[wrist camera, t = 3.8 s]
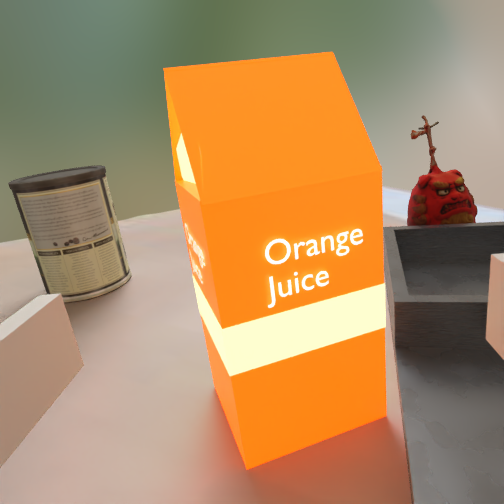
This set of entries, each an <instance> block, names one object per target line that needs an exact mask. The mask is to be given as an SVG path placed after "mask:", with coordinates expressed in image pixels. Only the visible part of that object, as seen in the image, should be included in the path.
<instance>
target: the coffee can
mask: <svg viewBox="0 0 504 504" xmlns="http://www.w3.org/2000/svg"><path fill="white" fill-rule="evenodd" d="M105 173H106V169H105V166H87V167H79V168H72V169H65V170H59V171H53V172H47V173H42V174H37V175H32V176H28V177H23V178H19V179H16V180H13V181H11V182H9V183H8V184H9V187H10V189H11V190H12V192H13V195H14V198H15V200H16V204H17V207H18V210H19V212H20V215H21V219H22V221H23V224H24V227H25V230H26V233H27V236H28V239H29V242H30V245H31V248H32V251H33V254H34V257H35V259H36V262H37V265H38V268H39V271H40V275H41V277H42V280H43V283H44V286H45V289H46V292H47V295H48V294H59V293H61V295H62V298H63V302H76V301H82V300H86V299H90V298H94V297H97V296H100V295H103V294H106V293H108V292H111V291H113V290H115V289H117V288H118V287H120V286H122V285H123V284H125V283H126V282H127V281H128V280H129V279H130V277H131V271H130V269H129V265H128V261H127V257H126V253H125V249H124V245H123V241H122V238H121V234H120V230H119V226H118V222H117V218H116V214H115V211H114V206H113V202H112V198H111V194H110V190H109V186H108V183H107V179H106V175H105Z"/></svg>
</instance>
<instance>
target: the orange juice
mask: <svg viewBox="0 0 504 504" xmlns="http://www.w3.org/2000/svg"><path fill="white" fill-rule="evenodd" d="M164 75H165V85H166V95H167V104H168V113H169V122H170V131H171V141H172V151H173V161H174V170H175V179H176V181H175V184H176V190H177V195H178V200H179V205H180V210H181V216H182V221H183V226H184V231H185V236H186V241H187V247H188V252H189V257H190V262H191V267H192V272H193V275H192V276H193V281H194V286H195V292H196V297H197V302H198V307H199V312H200V314H201V319H202V324H203V329H204V334H205V339H206V344H207V350H208V355H209V360H210V365H211V370H212V375H213V381H214V386H215V389H216V391H217V394H218V397H219V399H220V402H221V404H222V407H223V409H224V412H225V415H226V417H227V420H228V422H229V425H230V427H231V430H232V433H233V435H234V438H235V440H236V443H237V446H238V448H239V451H240V453H241V456H242V458H243V461H244V464H245V466H246V469H247V470H248V469H250V468H253V467H256V466H258V465H261V464H263V463H266V462H269V461H271V460H274V459H276V458H279V457H281V456H284V455H287V454H289V453H292V452H294V451H297V450H300V449H302V448H305V447H307V446H310V445H313V444H315V443H318V442H320V441H323V440H326V439H328V438H331V437H333V436H336V435H338V434H341V433H344V432H346V431H349V430H351V429H354V428H357V427H359V426H362V425H364V424H367V423H370V422H372V421H375V420H377V419H380V418H383V417H385V416H386V368H385V327H386V310H385V283H384V264H383V211H382V167H381V166H380V163H379V161H378V159H377V156H376V154H375V151H374V149H373V147H372V144H371V142H370V140H369V137H368V135H367V132H366V130H365V128H364V125H363V123H362V120H361V118H360V116H359V113H358V111H357V109H356V106H355V104H354V101H353V99H352V97H351V94H350V92H349V89H348V87H347V85H346V82H345V80H344V78H343V75H342V73H341V71H340V68H339V66H338V64H337V61H336V59H335V56H334V54H333V52H325V53H315V54H304V55H294V56H284V57H275V58H264V59H254V60H243V61H233V62H223V63H213V64H203V65H193V66H182V67H172V68H164Z"/></svg>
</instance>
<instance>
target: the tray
mask: <svg viewBox="0 0 504 504" xmlns="http://www.w3.org/2000/svg"><path fill="white" fill-rule="evenodd" d="M383 245H384V271H385V280H386V288H387V297H388V305H389V313H390V322H391V330H392V338H393V347H394V355H395V363H396V372H397V380H398V389H399V397H400V405H401V414H402V422H403V430H404V439H405V447H406V456H407V464H408V472H409V481H410V489H411V497H412V504H504V360H503V358H502V357H501V356H500V355H499V354H498V353H497V352H496V350H495V349H494V348H493V347H492V346H491V345H490V344H489V342H488V341H487V340H486V324H487V309H488V294H489V279H490V264H491V254H500V253H504V222H488V223H466V224H445V225H423V226H401V227H383Z"/></svg>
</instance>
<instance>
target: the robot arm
mask: <svg viewBox="0 0 504 504" xmlns="http://www.w3.org/2000/svg"><path fill="white" fill-rule="evenodd" d="M486 340H487V341H488V342H489V344H490V345H491V346H492V347H493V348H494V349H495V350H496V352H497V353H498V354H499V355H500V356H501V357H502V358H503V360H504V253H500V254H491V264H490V279H489V294H488V309H487V324H486ZM83 366H84V364H83V361H82V358H81V354H80V351H79V348H78V345H77V342H76V339H75V336H74V333H73V330H72V326H71V323H70V320H69V317H68V314H67V311H66V308H65V305H64V302H63V298H62V295H61V293H59V294H48V295H39V296H38V297H36V298H35V299H33V300H32V301H31V302H29V303H28V304H27V305H25V306H24V307H23V308H21V309H20V310H18V311H17V312H16V313H14V314H13V315H12V316H10V317H9V318H7V319H6V320H5V321H3V322H2V323H1V324H0V468H1V466H2V465H3V464H4V463H5V462H6V460H7V459H8V458H9V457H10V455H11V454H12V453H13V452H14V450H15V449H16V448H17V447H18V446H19V444H20V443H21V442H22V441H23V439H24V438H25V437H26V436H27V434H28V433H29V432H30V431H31V430H32V428H33V427H34V426H35V425H36V423H37V422H38V421H39V420H40V418H41V417H42V416H43V415H44V414H45V412H46V411H47V410H48V409H49V407H50V406H51V405H52V404H53V403H54V401H55V400H56V399H57V398H58V396H59V395H60V394H61V393H62V391H63V390H64V389H65V388H66V387H67V385H68V384H69V383H70V382H71V380H72V379H73V378H74V377H75V375H76V374H77V373H78V372H79V371H80V369H81V368H82V367H83Z"/></svg>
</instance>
